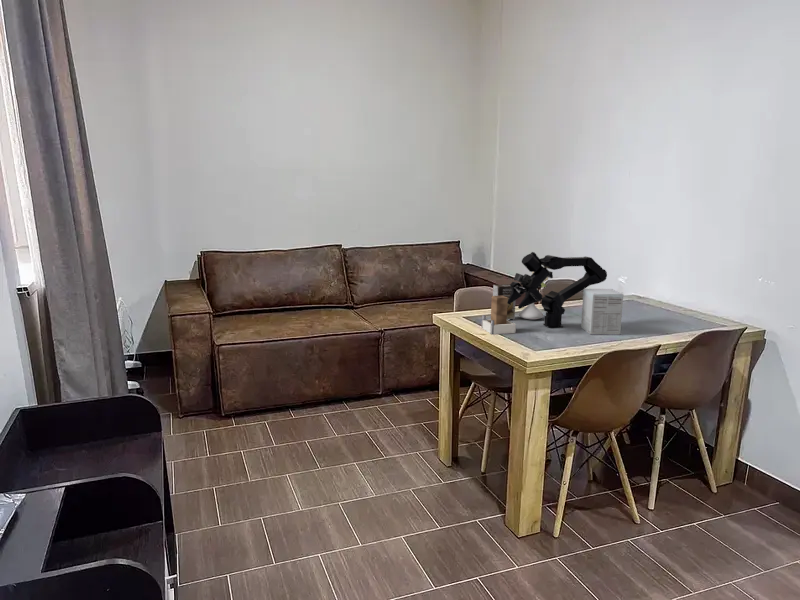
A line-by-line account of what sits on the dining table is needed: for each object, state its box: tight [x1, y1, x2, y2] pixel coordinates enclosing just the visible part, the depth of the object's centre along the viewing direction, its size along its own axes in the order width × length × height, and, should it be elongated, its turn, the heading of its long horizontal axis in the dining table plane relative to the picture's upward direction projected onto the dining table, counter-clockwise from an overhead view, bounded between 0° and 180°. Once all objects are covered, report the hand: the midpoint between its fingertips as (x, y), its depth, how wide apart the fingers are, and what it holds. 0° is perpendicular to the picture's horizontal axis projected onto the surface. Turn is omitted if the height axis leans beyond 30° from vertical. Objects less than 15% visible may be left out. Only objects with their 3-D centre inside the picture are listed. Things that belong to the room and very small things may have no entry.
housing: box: [481, 314, 517, 335], centre depth 258 cm, size 11×11×6 cm
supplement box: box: [580, 288, 625, 336], centre depth 258 cm, size 13×13×18 cm
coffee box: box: [492, 283, 517, 320], centre depth 279 cm, size 9×6×16 cm
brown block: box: [490, 295, 508, 325], centre depth 257 cm, size 5×5×14 cm
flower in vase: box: [518, 266, 549, 320], centre depth 280 cm, size 13×11×25 cm
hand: (513, 305), depth 259 cm, fingers open, 9 cm apart
